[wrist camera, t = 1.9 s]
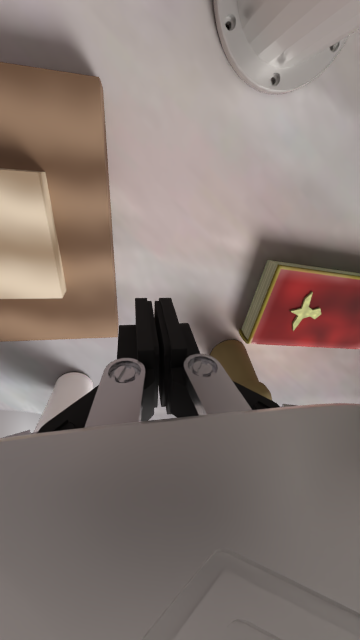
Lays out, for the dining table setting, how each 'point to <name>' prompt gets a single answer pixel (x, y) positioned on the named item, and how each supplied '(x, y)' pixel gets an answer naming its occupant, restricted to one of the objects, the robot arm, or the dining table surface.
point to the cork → (239, 366)
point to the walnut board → (63, 198)
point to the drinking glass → (65, 395)
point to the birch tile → (28, 238)
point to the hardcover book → (304, 307)
